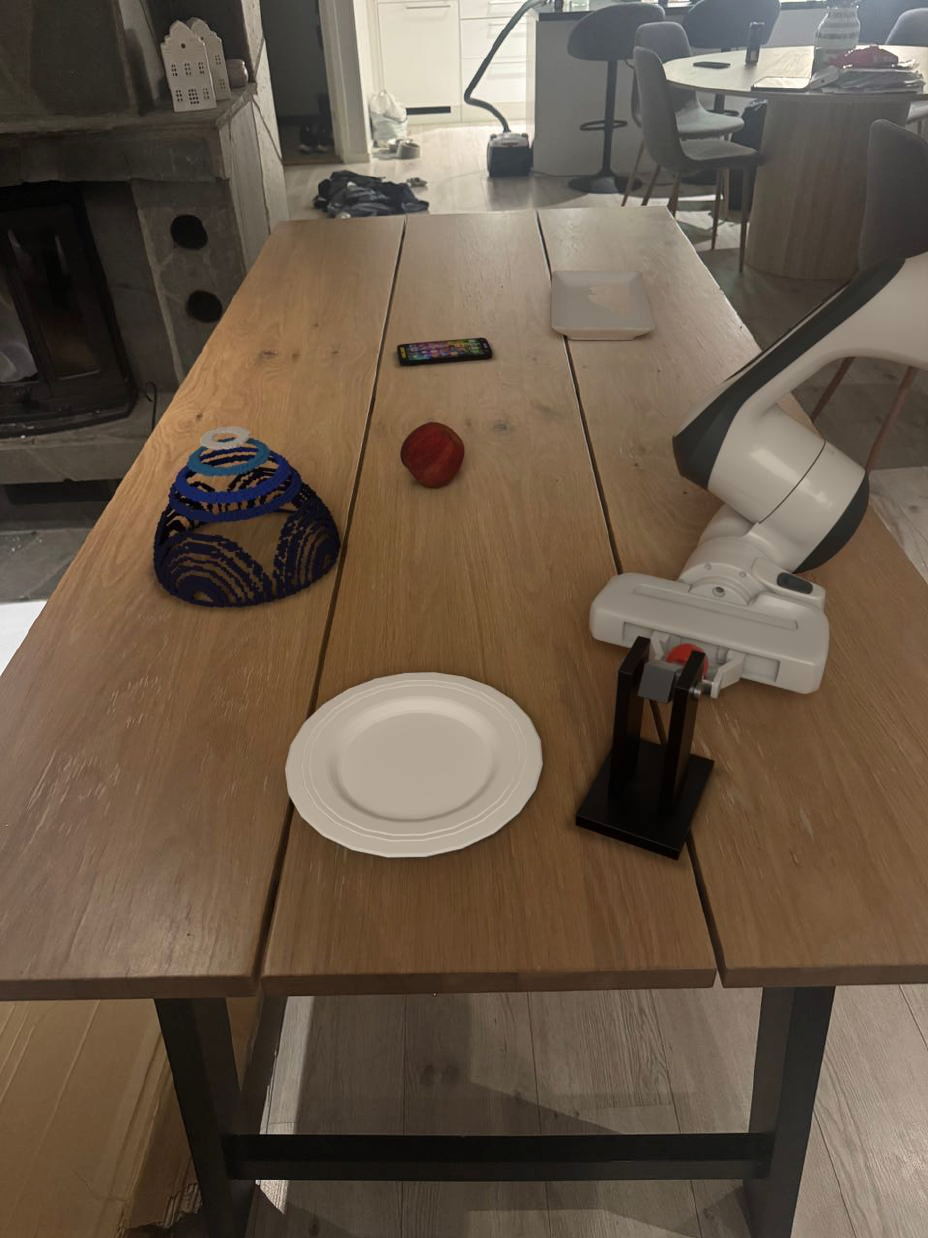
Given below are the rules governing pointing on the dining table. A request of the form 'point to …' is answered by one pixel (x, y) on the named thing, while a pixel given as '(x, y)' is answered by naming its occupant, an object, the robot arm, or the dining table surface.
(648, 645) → the switch bracket
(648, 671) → the lever
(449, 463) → the apple
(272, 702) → the dining table surface
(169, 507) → the decorative bowl
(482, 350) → the smartphone
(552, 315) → the tray
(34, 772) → the dining table surface
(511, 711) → the plate
